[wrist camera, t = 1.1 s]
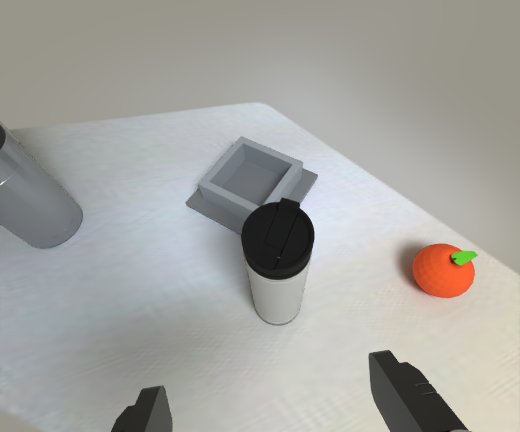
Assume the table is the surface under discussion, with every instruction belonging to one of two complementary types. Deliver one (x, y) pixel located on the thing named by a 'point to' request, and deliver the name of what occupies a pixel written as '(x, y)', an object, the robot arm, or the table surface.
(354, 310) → the table surface
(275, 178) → the mug dock
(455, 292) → the clementine
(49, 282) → the table surface
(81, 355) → the table surface
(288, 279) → the travel mug
